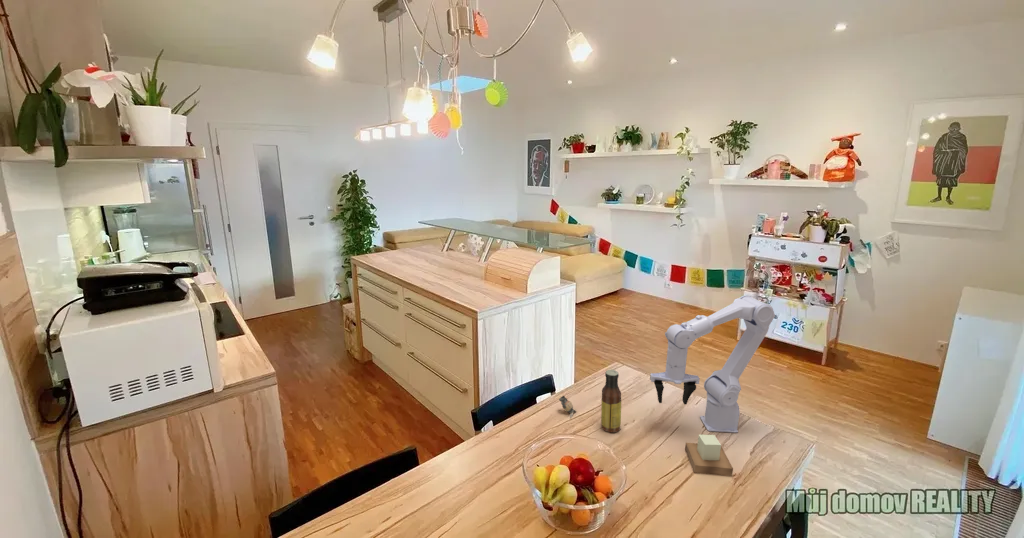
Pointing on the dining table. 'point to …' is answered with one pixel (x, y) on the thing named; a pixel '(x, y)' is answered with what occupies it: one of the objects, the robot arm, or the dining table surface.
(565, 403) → the bird figurine
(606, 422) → the sauce bottle
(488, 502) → the dining table surface
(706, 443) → the sage cube
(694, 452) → the walnut block
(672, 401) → the dining table surface
